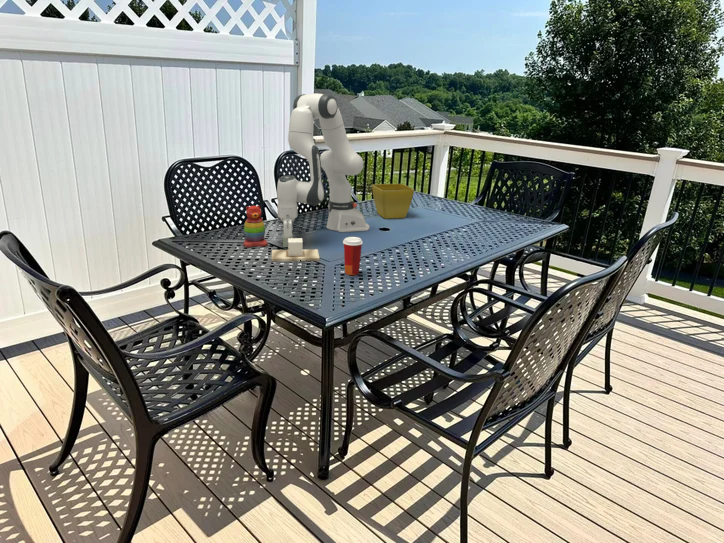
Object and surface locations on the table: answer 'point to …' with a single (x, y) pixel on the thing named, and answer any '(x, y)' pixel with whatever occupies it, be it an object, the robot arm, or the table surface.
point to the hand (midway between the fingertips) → (288, 242)
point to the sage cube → (285, 241)
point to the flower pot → (392, 199)
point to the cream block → (295, 247)
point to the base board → (283, 256)
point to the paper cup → (352, 255)
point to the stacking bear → (254, 228)
